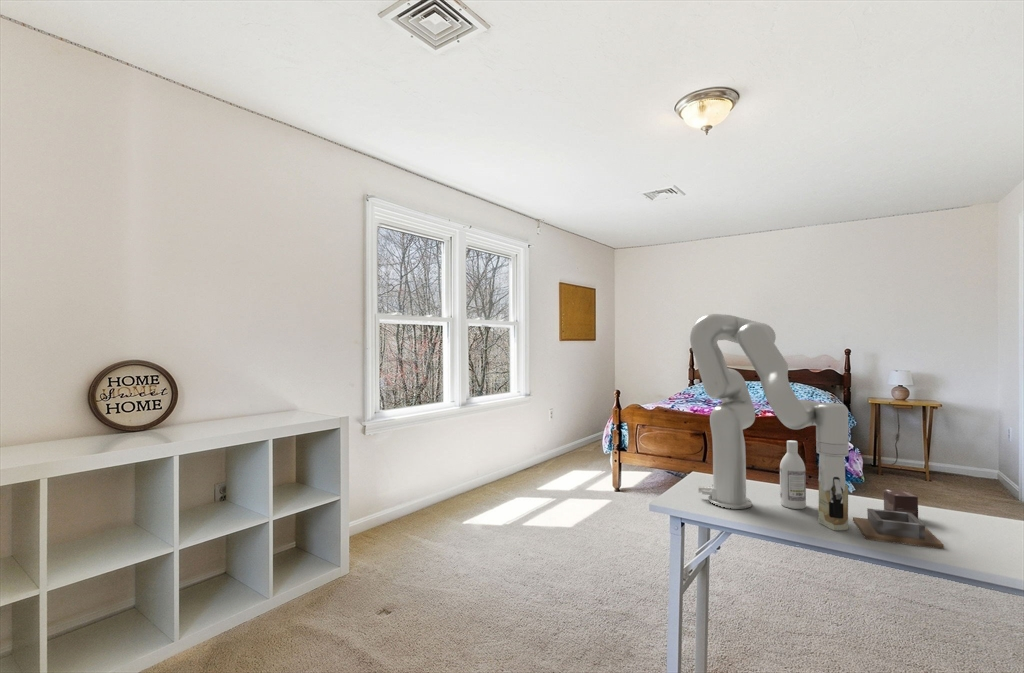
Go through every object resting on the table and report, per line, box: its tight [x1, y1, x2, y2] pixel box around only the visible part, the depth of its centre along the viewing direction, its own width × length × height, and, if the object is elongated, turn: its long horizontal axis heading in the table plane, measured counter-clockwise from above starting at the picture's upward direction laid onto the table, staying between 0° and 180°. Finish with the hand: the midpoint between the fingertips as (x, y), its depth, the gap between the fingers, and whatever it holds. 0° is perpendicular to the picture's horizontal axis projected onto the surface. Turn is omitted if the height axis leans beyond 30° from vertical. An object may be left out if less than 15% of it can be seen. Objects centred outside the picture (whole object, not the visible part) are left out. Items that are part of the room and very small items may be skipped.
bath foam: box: [779, 439, 807, 510], centre depth 155 cm, size 7×7×20 cm
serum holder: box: [852, 507, 945, 549], centre depth 132 cm, size 16×14×4 cm
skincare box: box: [818, 479, 849, 531], centre depth 138 cm, size 6×4×12 cm
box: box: [883, 489, 919, 520], centre depth 143 cm, size 6×6×7 cm
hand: (833, 512), depth 138 cm, fingers closed on skincare box, 7 cm apart
